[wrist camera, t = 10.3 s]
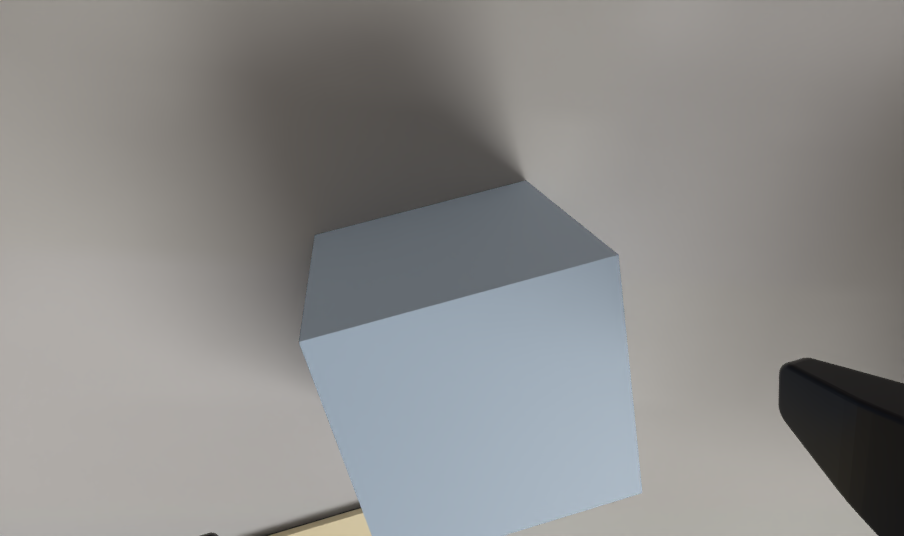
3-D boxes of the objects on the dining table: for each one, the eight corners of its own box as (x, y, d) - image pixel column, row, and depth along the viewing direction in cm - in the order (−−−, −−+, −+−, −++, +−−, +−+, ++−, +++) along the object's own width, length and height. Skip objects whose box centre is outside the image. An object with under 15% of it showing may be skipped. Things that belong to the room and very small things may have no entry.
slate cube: (524, 179, 13) (618, 254, 9) (553, 356, 15) (642, 492, 11) (314, 234, 13) (299, 341, 8) (373, 408, 15) (385, 572, 10)
